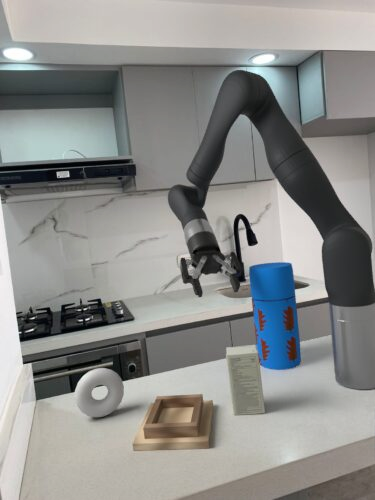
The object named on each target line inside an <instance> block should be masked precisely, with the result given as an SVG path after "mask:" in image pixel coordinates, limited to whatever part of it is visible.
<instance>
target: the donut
mask: <svg viewBox="0 0 375 500" xmlns="http://www.w3.org/2000/svg"><path fill="white" fill-rule="evenodd" d="M98 386H104V387H106V389H107V394H106V396H105V397H103V398H101V399H96V398H94V396H93V395H92V392H93V390H94V389H95V388H96V387H98ZM124 390H125V386H124V382H123V379H122V378H121V376H120V375H119V374H118V372H116V371H114V370H112V369H109V368H105V367H99V368H97V367H96V368H94V369H92V370H89V371H88V372H86V373H85V374H84V375H83V376H82V377H81V378H80V379H79V380H78V382H77V384H76V387H75V390H74V400H75V404H76V407H77V408H78V409H79V410H80V412H81V413H82V414H84V415H86V416H87V417H91V418H103V417H105V416H107V415H111V414H112V413H113V412H114V411H115V410H117V408H118V407H119V406H120V404H121V403H122V400H123V398H124V395H125V391H124Z"/></svg>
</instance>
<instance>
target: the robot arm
mask: <svg viewBox="0 0 375 500" xmlns="http://www.w3.org/2000/svg"><path fill="white" fill-rule="evenodd" d="M217 93H218V94H217V95H216V98H215V99H216V100H215V102H214V105H213V107H212V111H211V115H210V117H209V120H208V123H207V126H206V128H205V132H204V135H203V137H202V140H201V142H200V145H199V147H198V149H197V150H196V153H195V155H194V156H193V159H192V161H191V162H190V165H189V166H188V168H187V170H186V173H185V175H186V179H187V181H188V182H190V183H191V184H192V185H194V186H195V187H193V186H188V185H185V184H174V185H173V186H171V188H170V189H169V191H168V192H167V204H168V205H169V209H170V210H171V211H172V213H173V214H174V215H175V217H176V218H177V219H178V221H179V222H180V224H181V226H182V227H181V228H182V230H183V234H184V240H185V245H186V247H187V250H188V253H189V257H190V259H186V258H185V257H181V258H179V259H180V261H179V269H180V275H181V280H182V283H183V284H185V285H186V284H191V286H192V289H193V293H194V295H195V296H197V297H198V298H203V289H202V285H201V282H200V278H201V277H202V274H203V275H205V276H208V275H210V274H211V275H212V274H213V275H214V274H215V275H216V274H220V275H222V276H224V277H226V278H228V279H229V282H230V285H231V288H232V290H233V292H234V293H238V292H239V290H240V287H241V282H240V279H239V277H241V276H242V273H243V272H242V271H243V266H242V264H241V262H240V260H239V259H238V256H237V254H236V252H234V251H231V252H230V254H226V255H224V254H223V253H222V251H221V248H220V245H219V242H218V240H217V238H216V235H215V232H214V230H213V227H212V226H211V224H210V221H209V219H208V217H207V214H206V212H205V209H203V208H204V207H205V204H206V200H207V195H208V192H209V188H210V185H211V183H212V180H213V179H214V177H215V175H216V173H217V172H218V170H219V168H220V166H221V165H222V162H223V160H224V159H223V158H224V153H225V148H226V142H227V138H228V135H229V132H230V130H231V128H232V127H233V125H234V123H235V122H236V121H237V120H238V118H239V116H241V115H243V116H245V117H247V119H249V121H250V122H251V123H252V125H253V126H254V128H255V129H256V130H257V132H258V133H259V135H260V137H261V139H262V142H263V147H264V152H265V155H266V160H267V163H268V166H269V168H270V171H271V172H272V174H273V175H274V177H275V178H276V180H277V181H278V183H279V185H280V186H281V188H282V189H283V190H284V192H285V193H286V194H287V195H288V196H289V197H290V199H291V200H292V201H293V202H294V203H295V204H296V205H297V206H298V207H299V208H300V209H301V210H302V211H304V213H305V214H306V215H307V216H308V217H309V219H310V220H311V221H312V223H313V224H314V226H315V227H316V229H317V231H318V232H319V235H320V237H321V238H322V240H323V242H322V245H321V261H322V270H323V279H324V288H325V290H326V294H327V300H328V311H329V320H330V321H329V322H330V323H329V324H330V332H331V333H330V334H331V344H332V356H333V366H334V367H333V369H334V378H335V381H336V382H337V383H338V384H339V385H342V386H343V387H346V388H350V389H355V390H372V389H375V284H374V274H373V263H372V262H373V260H372V253H373V241H372V238H371V236H370V235H369V234H368V232H367V231H366V230H365V229H364V228H363V227H362V226H361V225H360V223H359V222H358V221H357V220H356V219H355V218H354V217H353V215H352V214H351V213H350V212H349V210H348V209H347V208H346V207H345V206H344V204H343V203H342V201H341V199H340V198H339V197H338V195H337V193H336V191H335V189H334V187H333V185H332V183H331V181H330V179H329V178H328V176H327V174H326V172H325V170H324V169H323V168H322V165H321V164H320V162H319V160H318V159H317V157H315V155H314V153H313V152H312V150H311V149H310V147H309V146H308V145H307V144H306V142H305V141H304V139H303V138H302V136H301V135H300V133H299V132H298V131H297V129H296V128H295V126H294V125H293V124H292V122H291V121H290V120H289V118H288V117H287V116H286V114H285V112H284V111H283V108H282V107H281V105H280V103H279V101H278V99H277V97H276V95H275V92H274V91H273V89H272V88H271V86H270V84H269V82H268V81H267V80H266V78H264V77H263V76H262V75H261V74H259V73H255V72H252V71H248V70H244V69H236V70H233V71H231V72H230V73H228V74H227V75H226V76H225V78H224V79H223V81H222V83H221V85H220V87H219V90H218V92H217ZM190 266H191V267H192V268H193V269H194V272H193V273H192V275H190V274H189V269H190Z"/></svg>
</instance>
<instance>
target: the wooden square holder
mask: <svg viewBox="0 0 375 500" xmlns="http://www.w3.org/2000/svg"><path fill="white" fill-rule="evenodd" d="M213 412H214V401H213V399H209V400H208V399H205V400H204V396H203V393H198V394H197V393H196V394H195V393H194V394H177V395H176V394H175V395H156V397H155V400H154V402H151V403H150V405H149V407H148V408H147V411H146V413H145V416H144V418H143V420H142V422H141V424H140V426H139V428H138V431H137V433H136V436H135V437H134V440H133V442H132V451H159V450H161V451H164V450H165V451H166V450H191V449H192V450H194V449H197V450H198V449H210V443H211V442H210V440H211V433H212V431H211V430H212V422H213V421H212V420H213Z"/></svg>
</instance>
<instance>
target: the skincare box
mask: <svg viewBox="0 0 375 500" xmlns="http://www.w3.org/2000/svg"><path fill="white" fill-rule="evenodd" d="M225 357H226V366H227V374H228V380H229V387H230V388H229V389H230V395H231V396H230V397H231V404H232V412H233V413H232V414H233V415H234V416H244V415H257V414H265V413H266V408H265V407H266V406H265V399H264V392H263V391H264V390H263V383H262V374H261V367H260V366H261V365H260V363H259V356H258V350H257V345H256V344H250V345H238V346H229V347H227V346H226V347H225Z"/></svg>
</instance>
